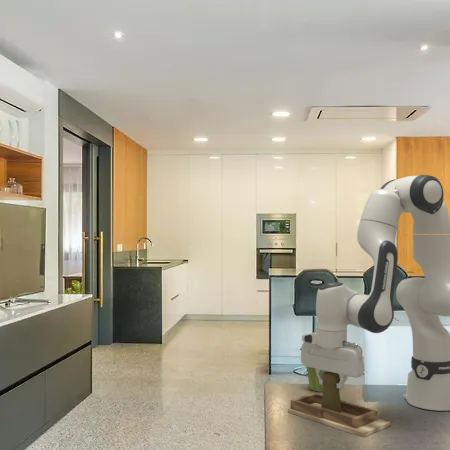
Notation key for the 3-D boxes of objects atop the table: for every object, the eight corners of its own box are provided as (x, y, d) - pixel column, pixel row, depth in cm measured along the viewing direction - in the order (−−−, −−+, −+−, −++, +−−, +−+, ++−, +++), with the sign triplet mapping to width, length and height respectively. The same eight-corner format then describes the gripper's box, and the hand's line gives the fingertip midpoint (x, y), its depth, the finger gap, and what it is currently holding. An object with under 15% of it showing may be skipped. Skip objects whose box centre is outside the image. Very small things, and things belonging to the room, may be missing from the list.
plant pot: (304, 385, 190) (304, 360, 190) (332, 386, 189) (332, 361, 189) (304, 392, 181) (305, 366, 181) (333, 394, 179) (333, 367, 179)
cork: (342, 414, 153) (341, 375, 154) (320, 413, 155) (320, 374, 155) (341, 408, 159) (341, 370, 160) (320, 406, 161) (320, 369, 161)
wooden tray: (315, 403, 169) (315, 392, 169) (390, 425, 150) (390, 412, 150) (287, 412, 160) (288, 400, 161) (363, 437, 141) (363, 423, 141)
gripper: (368, 342, 152) (368, 392, 152) (311, 332, 167) (311, 377, 167) (355, 345, 148) (355, 397, 147) (297, 335, 163) (297, 381, 163)
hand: (331, 386), depth 157 cm, fingers closed on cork, 5 cm apart
